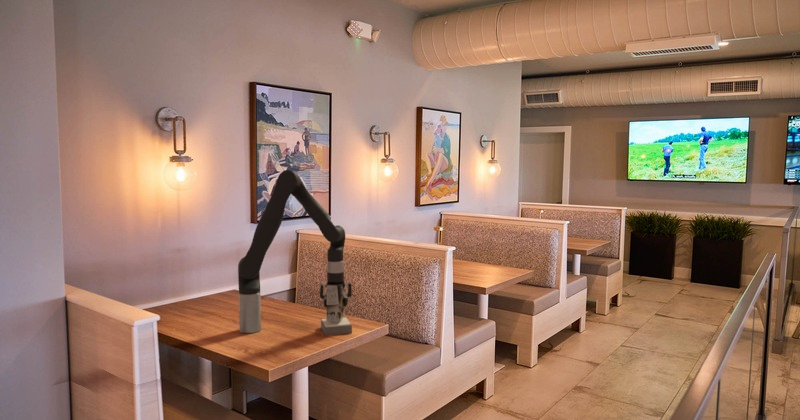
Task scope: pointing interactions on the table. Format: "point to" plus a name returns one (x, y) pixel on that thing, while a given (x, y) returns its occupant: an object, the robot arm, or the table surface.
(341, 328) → the pedestal
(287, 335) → the table surface
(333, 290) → the coffee box
